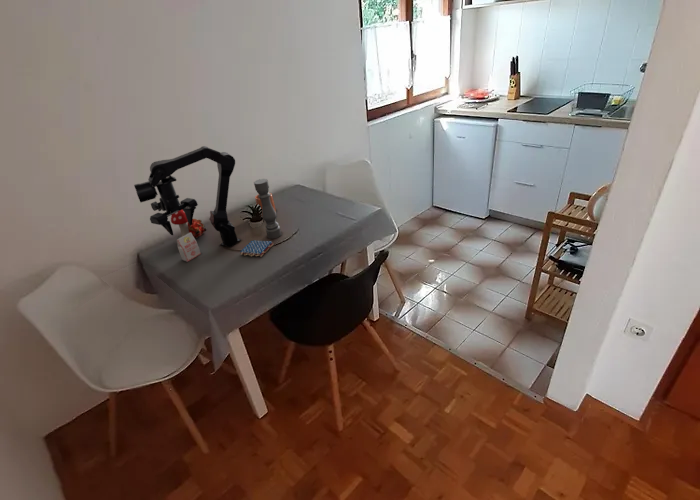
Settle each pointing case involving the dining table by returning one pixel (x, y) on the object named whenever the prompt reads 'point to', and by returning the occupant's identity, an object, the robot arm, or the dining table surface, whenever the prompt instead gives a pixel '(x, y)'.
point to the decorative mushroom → (180, 222)
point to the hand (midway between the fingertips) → (181, 229)
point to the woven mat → (256, 248)
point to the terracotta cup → (261, 203)
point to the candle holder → (267, 209)
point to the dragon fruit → (196, 228)
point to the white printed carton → (188, 247)
